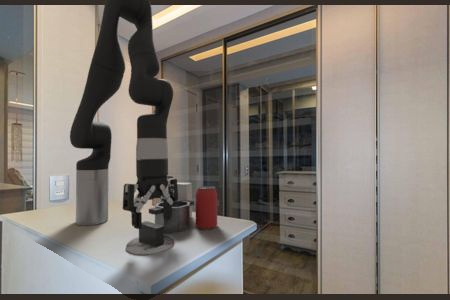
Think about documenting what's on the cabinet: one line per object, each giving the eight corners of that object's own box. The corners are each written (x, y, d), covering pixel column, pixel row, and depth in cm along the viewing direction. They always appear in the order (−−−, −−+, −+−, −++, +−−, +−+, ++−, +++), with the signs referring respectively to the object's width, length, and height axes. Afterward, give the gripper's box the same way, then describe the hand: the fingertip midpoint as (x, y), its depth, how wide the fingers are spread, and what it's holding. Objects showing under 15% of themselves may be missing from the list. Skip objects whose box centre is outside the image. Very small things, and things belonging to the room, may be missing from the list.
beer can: (214, 230, 65) (214, 189, 66) (192, 229, 67) (192, 188, 67) (219, 223, 72) (219, 186, 72) (199, 222, 73) (199, 185, 73)
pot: (141, 230, 66) (141, 206, 66) (180, 218, 78) (180, 198, 78) (163, 238, 60) (163, 211, 60) (202, 224, 72) (202, 201, 72)
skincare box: (192, 216, 81) (192, 182, 81) (186, 219, 76) (186, 184, 77) (177, 215, 82) (177, 182, 83) (170, 218, 78) (171, 183, 79)
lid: (116, 247, 54) (117, 226, 54) (156, 234, 63) (156, 215, 63) (144, 261, 48) (144, 236, 48) (183, 244, 57) (183, 223, 57)
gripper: (165, 157, 64) (166, 214, 64) (116, 158, 52) (116, 228, 52) (184, 156, 60) (185, 218, 59) (134, 157, 48) (135, 234, 48)
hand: (153, 223), depth 56 cm, fingers open, 8 cm apart
